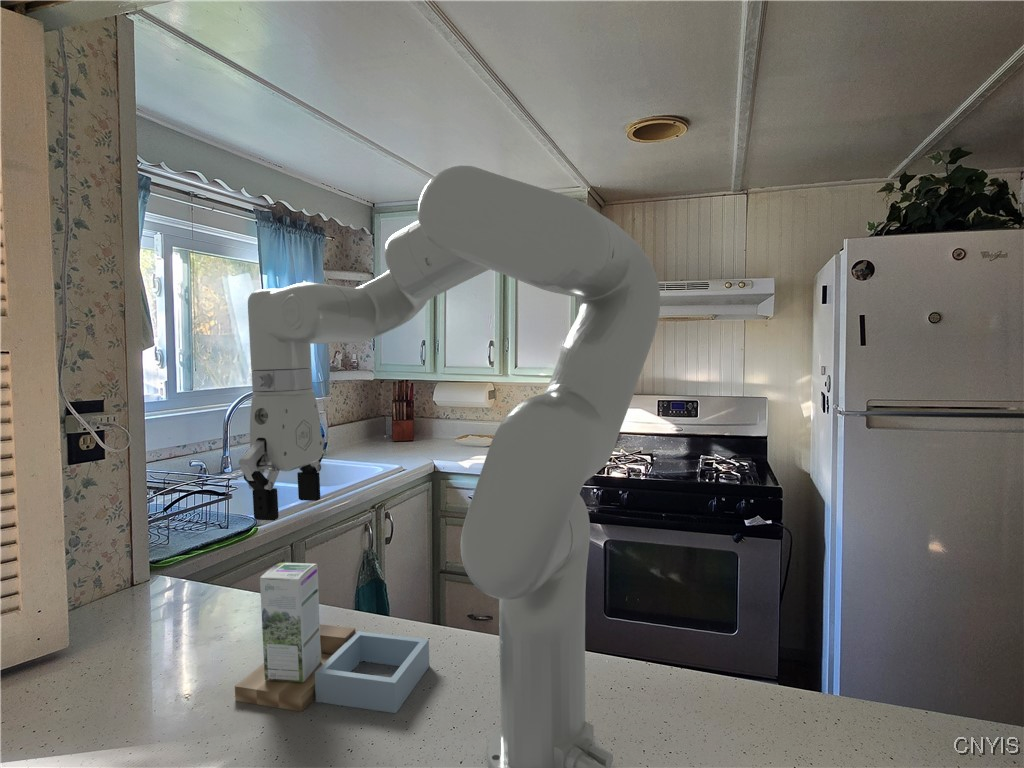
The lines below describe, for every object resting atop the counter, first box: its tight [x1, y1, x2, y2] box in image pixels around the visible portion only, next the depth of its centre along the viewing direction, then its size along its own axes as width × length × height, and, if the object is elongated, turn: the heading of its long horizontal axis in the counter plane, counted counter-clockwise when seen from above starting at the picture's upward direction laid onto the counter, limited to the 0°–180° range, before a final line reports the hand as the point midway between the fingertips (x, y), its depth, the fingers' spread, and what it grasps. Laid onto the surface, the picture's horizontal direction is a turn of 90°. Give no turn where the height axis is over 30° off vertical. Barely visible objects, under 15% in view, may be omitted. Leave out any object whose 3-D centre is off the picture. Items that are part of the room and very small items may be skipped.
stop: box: [319, 623, 356, 655], centre depth 88 cm, size 10×3×4 cm, turn 76°
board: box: [234, 654, 332, 713], centre depth 82 cm, size 10×10×2 cm
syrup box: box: [259, 562, 321, 682], centre depth 81 cm, size 6×6×14 cm
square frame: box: [315, 630, 430, 714], centre depth 82 cm, size 11×11×4 cm
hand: (289, 509), depth 80 cm, fingers open, 9 cm apart
